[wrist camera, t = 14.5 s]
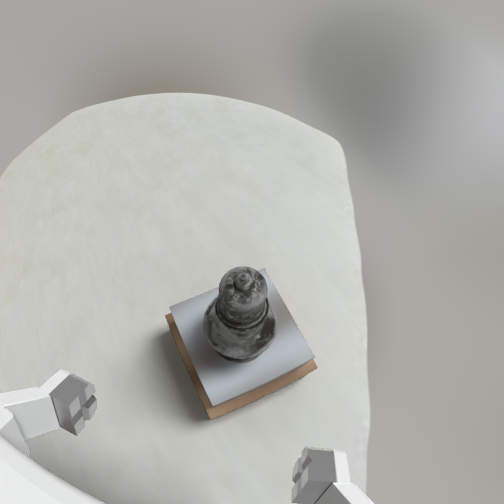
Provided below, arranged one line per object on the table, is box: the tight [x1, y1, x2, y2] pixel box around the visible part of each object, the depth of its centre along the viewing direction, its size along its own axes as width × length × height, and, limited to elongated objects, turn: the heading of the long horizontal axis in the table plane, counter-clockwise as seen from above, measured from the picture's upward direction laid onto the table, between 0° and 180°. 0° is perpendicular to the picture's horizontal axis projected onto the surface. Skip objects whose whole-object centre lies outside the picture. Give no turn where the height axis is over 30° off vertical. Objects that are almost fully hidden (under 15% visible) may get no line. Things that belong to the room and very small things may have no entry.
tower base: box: [165, 268, 318, 419], centre depth 30 cm, size 12×12×9 cm
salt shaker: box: [203, 267, 278, 363], centre depth 21 cm, size 6×6×12 cm
